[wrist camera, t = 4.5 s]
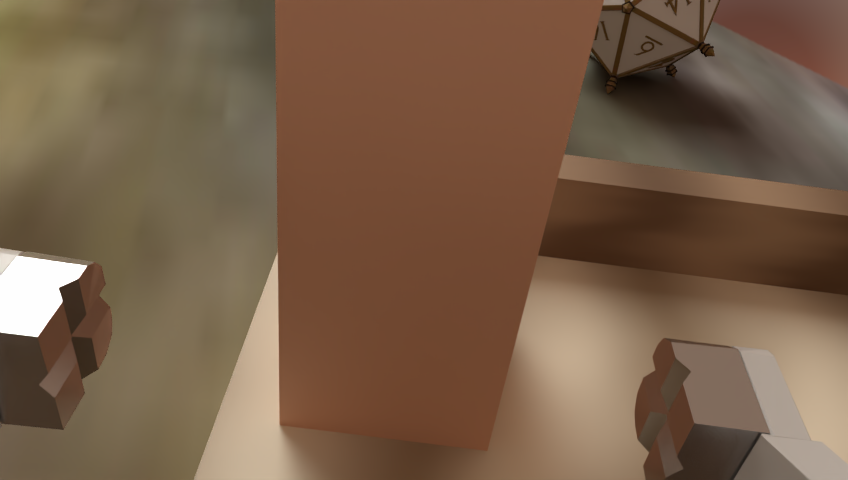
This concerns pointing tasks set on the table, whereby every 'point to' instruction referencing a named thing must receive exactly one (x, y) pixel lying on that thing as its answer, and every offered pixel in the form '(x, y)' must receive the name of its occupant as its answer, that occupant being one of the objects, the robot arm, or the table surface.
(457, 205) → the terracotta block
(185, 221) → the table surface
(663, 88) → the table surface
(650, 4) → the game die
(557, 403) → the board
